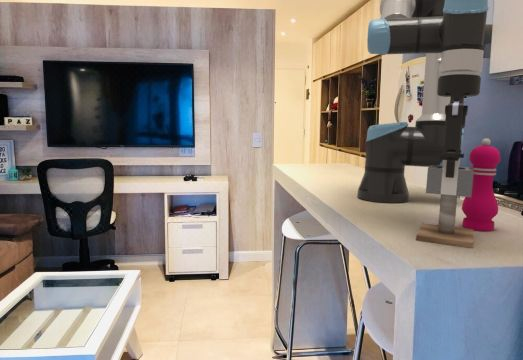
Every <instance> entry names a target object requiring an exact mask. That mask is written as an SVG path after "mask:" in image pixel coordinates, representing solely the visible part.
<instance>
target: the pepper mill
mask: <svg viewBox="0 0 523 360" xmlns="http://www.w3.org/2000/svg"><path fill="white" fill-rule="evenodd" d="M491 144H492V141H491V139H489V138H487V137H486V138H483V139H482V140H481V145H478V146H475V147H474V148H473V149H471V151H470V153H469V159H468V160H469V161H470V163H471V164H472V166H471V168H474V174H473V185H472V195H471V197H464V199H463V200H462V201H463V202H462V205H461V211H462V213H463V214H464V215H465V217H464V218H463V219H462V228H466V229H473V231H478V232H492V231H493V230H494V229H495V221H494V220H493V219H494V218H495V217H496V216H497V215H498V214H499V204H498V201H497V198H496V196H495V191H494V188H493V182H494V181H493V180H494V176H497V168H495V167H497V165H498V164H500V162H501V153H500V151H499V150H498V149H497V148H496V147H494V146H491Z"/></svg>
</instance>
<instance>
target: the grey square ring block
mask: <svg viewBox="0 0 523 360" xmlns="http://www.w3.org/2000/svg"><path fill="white" fill-rule="evenodd" d="M471 167H472V166H471ZM471 167H470V166H468V167H467V166H460V167H459V168H458V179H457V191H456V195H451V196H457V197H464V198H465V197H471V195H472V185H473V174H474V168H471ZM442 170H443V166H439V165H431V166H430V167H427V172H426V173H427V175H426V185H425V186H426V189H425V194H432V195H439V196H441V195H446V194H441V182H442Z"/></svg>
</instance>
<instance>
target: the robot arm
mask: <svg viewBox="0 0 523 360" xmlns="http://www.w3.org/2000/svg"><path fill="white" fill-rule="evenodd" d="M488 1H489V0H380V3H379V13H380V18H377V19H375V18H374V19H371V20H370V21H369V22H368V26H367V39H366V40H367V42H366V43H367V47H366V48H367V52H368V53H369V54H370V55H382V56H386V55H407V54H408V55H409V54H421V55H423V54H425V62H424V63H425V65H424V66H425V67H424V78H423V79H424V80H423V93H422V94H423V95H422V104H421V105H422V106H421V107H422V108H421V115H420V116H419V117H418V118H417V119H416V120H415V126H409V123H408V122H407V121H401V122H391V123H381V124H373V125H370V126H369V127H368V129H367V132H366V140H365V142H366V146H365V161H364V162H365V163H364V174H363V176H362V179H361V181H360V183H359V186H358V189H357V198H358V199H361V200H365V201H369V202H378V203H390V204H391V203H392V204H394V203H395V204H396V203H399V204H401V203H406V202H408V201H409V199H410V198H409V197H410V196H409V195H410V193H409V190H408V189H409V188H408V186H407V185H408V184H407V182H406V181H407V180H406V178H405V168H406V167H407V166H408V167H424V168H428V167H430V166H431V165H439V166H443V170H442V182H441V194H446V195H456V191H457V179H458V168H459V167H461V166H460V164H461V159H463V158H464V157H465V153H462V147H463V143H464V138H465V137H464V134H465V130H464V128H465V127H466V118H467V117H466V116H467V115H468V110H469V108H468V107H469V105H468V104H466V105H464V103H465V97H466V98H467V97H469V98H470V97H477V96H479V95H480V91H481V81H482V78H481V76H480V75H479V74H481V73H482V72H483V63H484V53H485V51H484V45H485V35H486V27H487V26H486V25H487V17H488V11H489V6H488V4H489V2H488Z"/></svg>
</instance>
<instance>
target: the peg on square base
mask: <svg viewBox="0 0 523 360" xmlns="http://www.w3.org/2000/svg"><path fill="white" fill-rule="evenodd" d="M439 203H440V204H439V212H438V214H439V215H438V224H433V223H424V222H423V223H422V224H421V225H420V228H419V230H418V231H417V233H416V235H415V241H419V242H425V243H426V242H427V243H434V244H441V245H448V246H449V245H450V246H455V247H463V248H469V249H470V248H471V249H474V230H473V229H467V228H465V227H459V226H458V227H457V226H456V216H457V215H456V214H457V205H458V204H457V203H458V196H451V195H440V202H439Z"/></svg>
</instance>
